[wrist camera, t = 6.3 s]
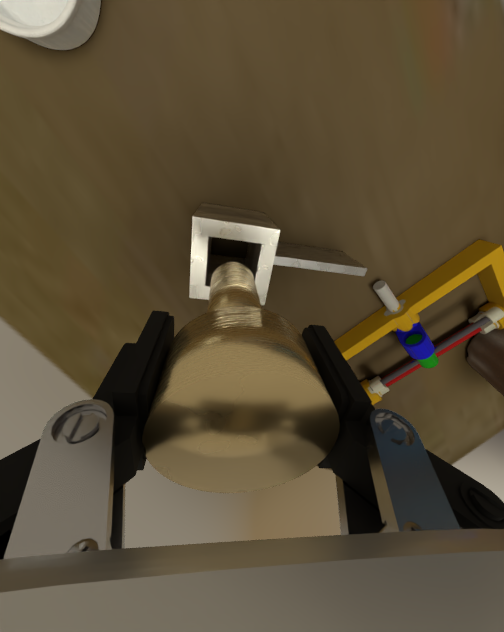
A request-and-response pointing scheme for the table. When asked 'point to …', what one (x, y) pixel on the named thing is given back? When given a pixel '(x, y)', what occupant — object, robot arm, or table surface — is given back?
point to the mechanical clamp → (402, 312)
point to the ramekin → (50, 21)
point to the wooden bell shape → (238, 397)
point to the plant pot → (488, 357)
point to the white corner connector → (253, 249)
